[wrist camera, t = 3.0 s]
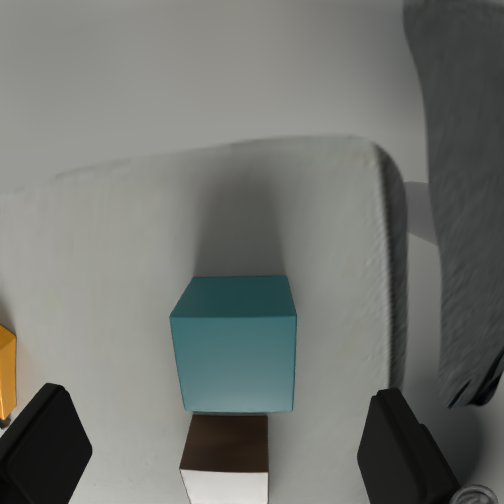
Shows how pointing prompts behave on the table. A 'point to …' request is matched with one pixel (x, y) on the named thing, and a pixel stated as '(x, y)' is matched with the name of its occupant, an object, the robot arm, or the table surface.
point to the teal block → (236, 344)
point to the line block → (226, 460)
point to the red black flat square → (4, 423)
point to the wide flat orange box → (7, 372)
